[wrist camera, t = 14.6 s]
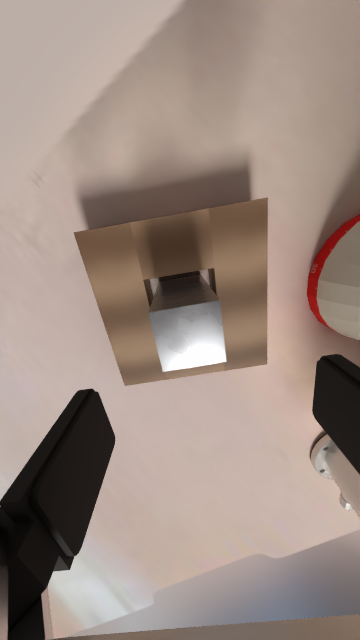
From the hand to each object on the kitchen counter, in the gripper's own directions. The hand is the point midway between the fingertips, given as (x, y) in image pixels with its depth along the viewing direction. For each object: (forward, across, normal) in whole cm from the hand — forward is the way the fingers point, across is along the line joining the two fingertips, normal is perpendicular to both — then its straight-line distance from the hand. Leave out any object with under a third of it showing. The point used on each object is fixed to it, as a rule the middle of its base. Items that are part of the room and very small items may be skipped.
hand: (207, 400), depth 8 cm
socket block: (+15, +1, -1) cm, 15 cm away
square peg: (+15, +1, -1) cm, 15 cm away
